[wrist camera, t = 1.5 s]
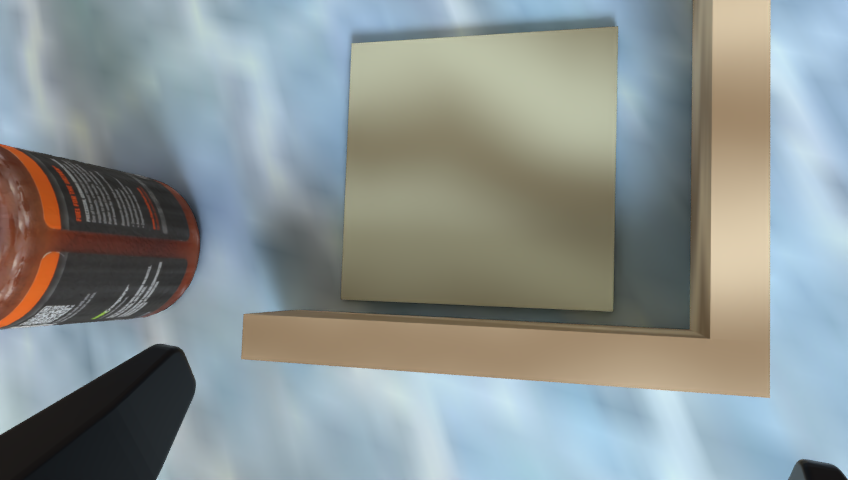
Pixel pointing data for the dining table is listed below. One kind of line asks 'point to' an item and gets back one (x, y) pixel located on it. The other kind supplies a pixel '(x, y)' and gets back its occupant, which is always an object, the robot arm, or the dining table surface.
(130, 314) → the supplement bottle
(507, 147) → the arena
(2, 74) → the dining table surface
